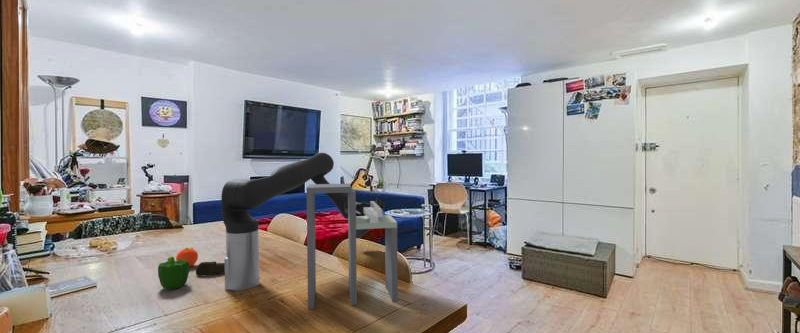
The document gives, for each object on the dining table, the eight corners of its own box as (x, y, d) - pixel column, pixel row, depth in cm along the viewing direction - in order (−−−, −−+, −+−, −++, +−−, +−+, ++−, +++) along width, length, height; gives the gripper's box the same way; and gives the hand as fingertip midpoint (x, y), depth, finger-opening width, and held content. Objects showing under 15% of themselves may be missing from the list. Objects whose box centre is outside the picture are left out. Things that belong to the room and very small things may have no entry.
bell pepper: (173, 281, 112) (173, 251, 112) (195, 283, 111) (194, 252, 110) (150, 291, 104) (149, 258, 104) (173, 293, 102) (172, 259, 102)
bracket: (369, 223, 94) (369, 210, 94) (363, 212, 113) (363, 201, 113) (382, 222, 94) (382, 209, 94) (373, 211, 114) (373, 201, 114)
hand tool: (256, 269, 125) (256, 256, 125) (254, 272, 121) (254, 259, 121) (198, 273, 121) (198, 260, 121) (194, 277, 117) (194, 263, 117)
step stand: (308, 309, 91) (306, 187, 90) (310, 292, 103) (309, 184, 102) (397, 301, 96) (396, 185, 95) (390, 285, 107) (389, 182, 107)
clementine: (183, 263, 132) (183, 244, 132) (203, 262, 133) (202, 244, 132) (172, 270, 124) (171, 250, 124) (192, 269, 125) (192, 249, 124)
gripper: (344, 205, 135) (344, 190, 121) (380, 205, 137) (385, 190, 123) (344, 224, 132) (344, 211, 117) (381, 224, 134) (386, 210, 120)
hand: (365, 200), depth 120 cm, fingers open, 8 cm apart
